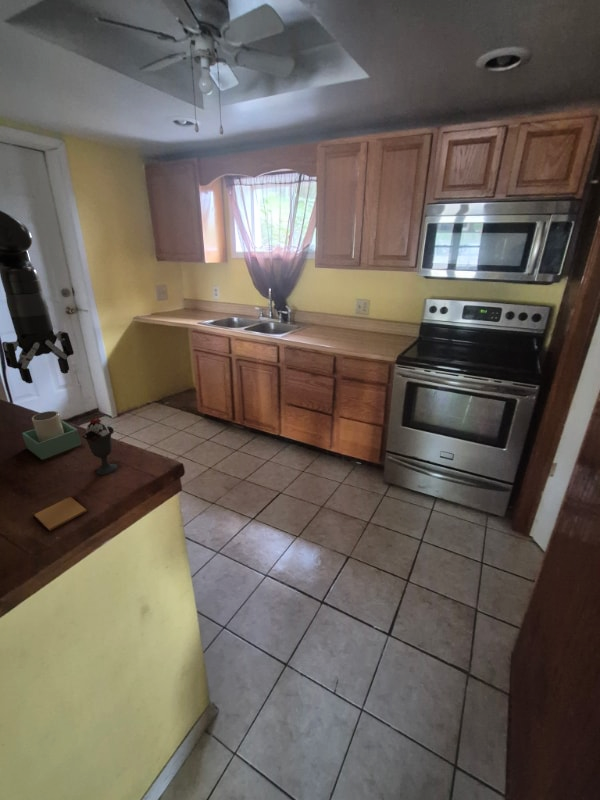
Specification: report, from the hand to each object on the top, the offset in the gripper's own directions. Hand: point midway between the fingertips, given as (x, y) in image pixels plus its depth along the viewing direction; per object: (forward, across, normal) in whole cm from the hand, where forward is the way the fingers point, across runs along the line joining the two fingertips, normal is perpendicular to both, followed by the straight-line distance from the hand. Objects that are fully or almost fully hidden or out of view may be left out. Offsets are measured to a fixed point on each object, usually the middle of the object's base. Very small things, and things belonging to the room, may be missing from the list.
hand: (47, 377), depth 93 cm
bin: (+20, +2, -1) cm, 20 cm away
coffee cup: (+19, +2, -1) cm, 19 cm away
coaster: (+20, +16, +26) cm, 37 cm away
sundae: (+20, +2, +20) cm, 28 cm away
